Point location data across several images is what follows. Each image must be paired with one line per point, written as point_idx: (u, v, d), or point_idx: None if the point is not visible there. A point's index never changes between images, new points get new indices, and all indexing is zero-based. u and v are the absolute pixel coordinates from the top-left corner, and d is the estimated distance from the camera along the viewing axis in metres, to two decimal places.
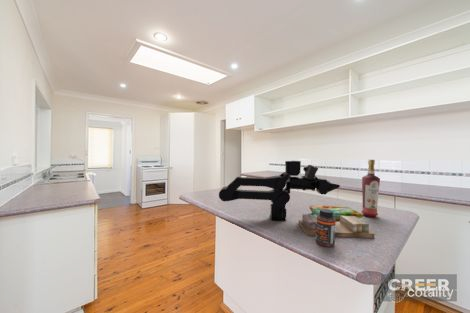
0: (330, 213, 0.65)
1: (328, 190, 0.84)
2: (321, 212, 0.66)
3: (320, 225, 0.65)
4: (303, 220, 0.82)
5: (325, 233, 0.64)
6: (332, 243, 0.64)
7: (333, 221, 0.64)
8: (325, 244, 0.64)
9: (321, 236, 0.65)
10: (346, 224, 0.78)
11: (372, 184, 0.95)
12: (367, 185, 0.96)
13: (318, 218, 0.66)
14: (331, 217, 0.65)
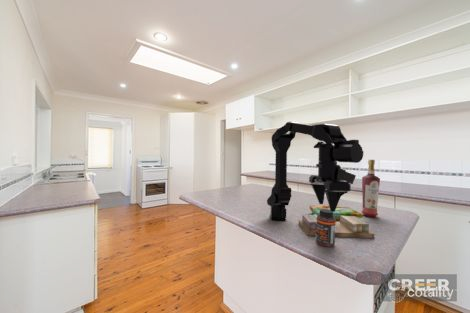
0: (330, 213, 0.65)
1: (329, 195, 0.60)
2: (321, 212, 0.66)
3: (320, 225, 0.65)
4: (303, 220, 0.82)
5: (325, 233, 0.64)
6: (332, 243, 0.64)
7: (333, 221, 0.64)
8: (325, 244, 0.64)
9: (321, 236, 0.65)
10: (346, 224, 0.78)
11: (372, 184, 0.95)
12: (367, 185, 0.96)
13: (318, 218, 0.66)
14: (331, 217, 0.65)
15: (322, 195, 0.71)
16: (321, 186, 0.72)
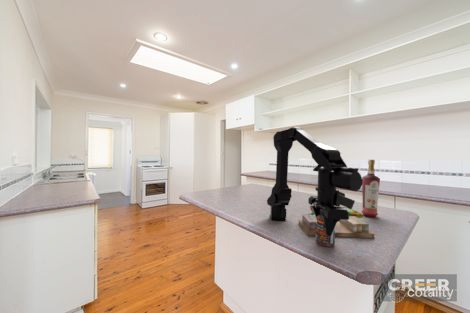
0: None
1: (326, 220, 0.62)
2: (321, 212, 0.66)
3: (320, 225, 0.65)
4: (303, 220, 0.82)
5: (325, 233, 0.64)
6: (332, 243, 0.64)
7: None
8: (325, 244, 0.64)
9: (321, 236, 0.65)
10: (346, 224, 0.78)
11: (372, 184, 0.95)
12: (367, 185, 0.96)
13: (318, 218, 0.66)
14: None
15: None
16: None
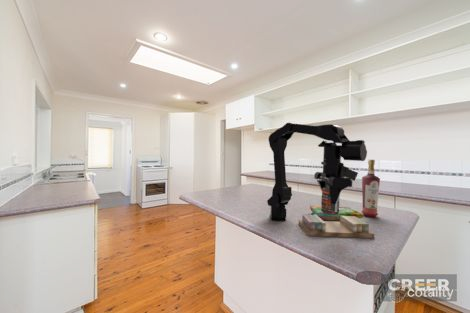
0: None
1: (331, 190, 0.68)
2: (326, 183, 0.72)
3: (325, 195, 0.71)
4: (303, 220, 0.82)
5: (330, 202, 0.70)
6: (336, 211, 0.70)
7: None
8: (330, 212, 0.70)
9: (326, 205, 0.71)
10: (346, 224, 0.78)
11: (372, 184, 0.95)
12: (367, 185, 0.96)
13: (323, 189, 0.72)
14: None
15: None
16: None
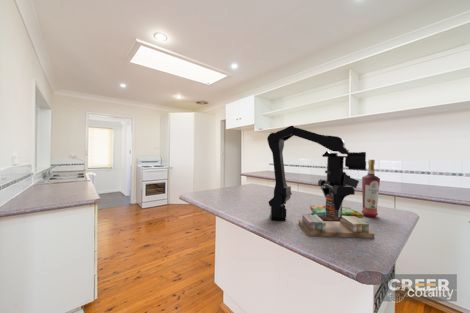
0: None
1: (335, 197, 0.73)
2: (330, 191, 0.78)
3: (329, 201, 0.77)
4: (303, 220, 0.82)
5: (334, 208, 0.76)
6: (339, 217, 0.76)
7: None
8: (333, 217, 0.76)
9: (330, 211, 0.76)
10: (346, 224, 0.78)
11: (372, 184, 0.95)
12: (367, 185, 0.96)
13: (327, 196, 0.78)
14: None
15: None
16: None
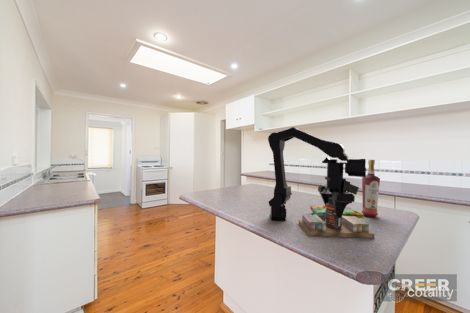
0: None
1: (336, 205, 0.72)
2: (330, 200, 0.78)
3: (329, 210, 0.77)
4: (303, 220, 0.82)
5: (334, 217, 0.76)
6: (339, 226, 0.76)
7: None
8: (334, 226, 0.76)
9: (330, 220, 0.76)
10: (346, 224, 0.78)
11: (372, 184, 0.95)
12: (367, 185, 0.96)
13: (327, 205, 0.78)
14: None
15: None
16: (328, 195, 0.83)
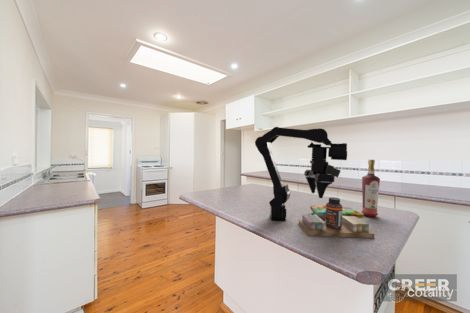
0: (338, 200, 0.76)
1: (318, 185, 0.77)
2: (330, 200, 0.78)
3: (329, 210, 0.77)
4: (303, 220, 0.82)
5: (334, 217, 0.76)
6: (339, 226, 0.76)
7: (340, 207, 0.76)
8: (334, 226, 0.76)
9: (330, 220, 0.76)
10: (346, 224, 0.78)
11: (372, 184, 0.95)
12: (367, 185, 0.96)
13: (327, 205, 0.78)
14: (338, 204, 0.76)
15: (314, 186, 0.88)
16: (313, 179, 0.89)
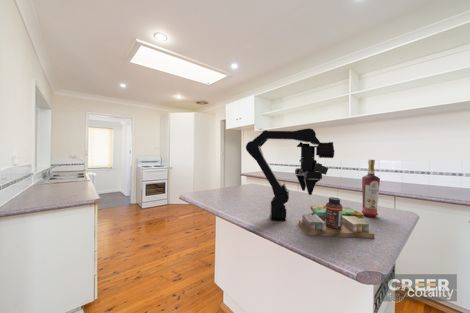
0: (338, 200, 0.76)
1: (307, 182, 0.81)
2: (330, 200, 0.78)
3: (329, 210, 0.77)
4: (303, 220, 0.82)
5: (334, 217, 0.76)
6: (339, 226, 0.76)
7: (340, 207, 0.76)
8: (334, 226, 0.76)
9: (330, 220, 0.76)
10: (346, 224, 0.78)
11: (372, 184, 0.95)
12: (367, 185, 0.96)
13: (327, 205, 0.78)
14: (338, 204, 0.76)
15: (304, 183, 0.92)
16: (303, 176, 0.93)
